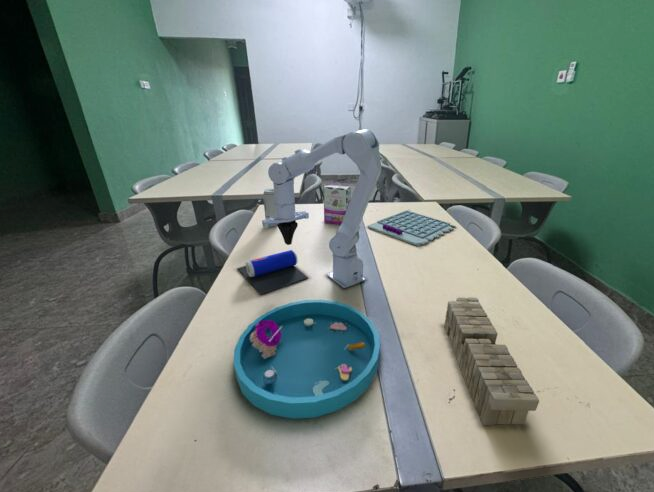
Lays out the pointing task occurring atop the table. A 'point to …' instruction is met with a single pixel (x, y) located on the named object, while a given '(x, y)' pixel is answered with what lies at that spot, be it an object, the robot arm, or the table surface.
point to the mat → (274, 279)
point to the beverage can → (271, 263)
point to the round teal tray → (307, 358)
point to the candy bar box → (336, 203)
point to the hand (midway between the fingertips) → (288, 243)
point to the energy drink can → (269, 203)
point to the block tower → (487, 366)
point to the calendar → (412, 227)
